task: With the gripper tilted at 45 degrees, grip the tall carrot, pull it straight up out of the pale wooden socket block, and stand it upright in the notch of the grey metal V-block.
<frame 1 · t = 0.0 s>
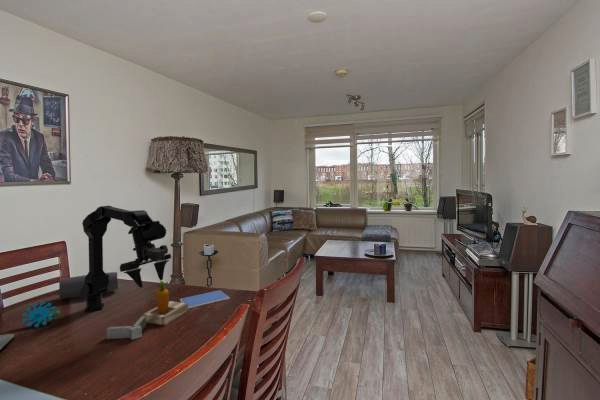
hand: (151, 283, 121), 15 cm above the table, tool pointing down, fingers open, 9 cm apart
tablet computer: (204, 301, 146), on the table
gear: (42, 324, 123), on the table
v-block: (127, 331, 116), on the table
bluetooth speaker: (90, 295, 152), on the table
socket block: (163, 317, 127), on the table
carrot: (163, 318, 127), resting in socket block
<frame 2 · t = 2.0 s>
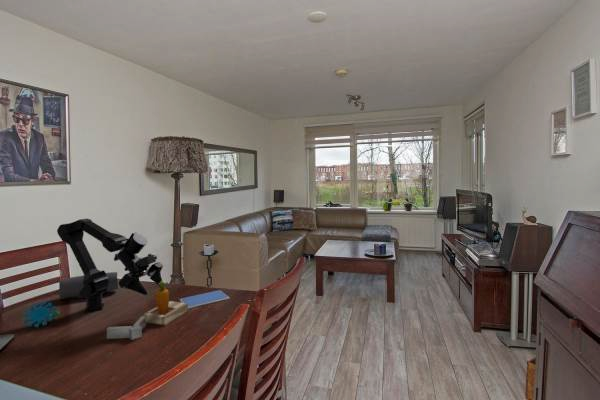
hand: (155, 290, 127), 11 cm above the table, tool tilted 45°, fingers open, 9 cm apart
nothing on the table moved.
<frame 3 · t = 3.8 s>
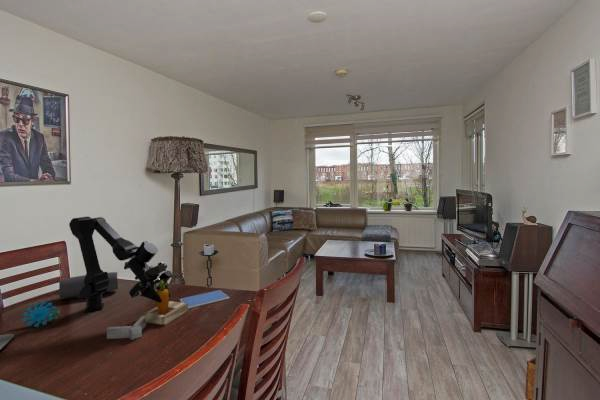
hand: (165, 299, 126), 8 cm above the table, tool tilted 45°, fingers closed on carrot, 5 cm apart
carrot: (163, 318, 127), resting in socket block, touching gripper
everything else where it was.
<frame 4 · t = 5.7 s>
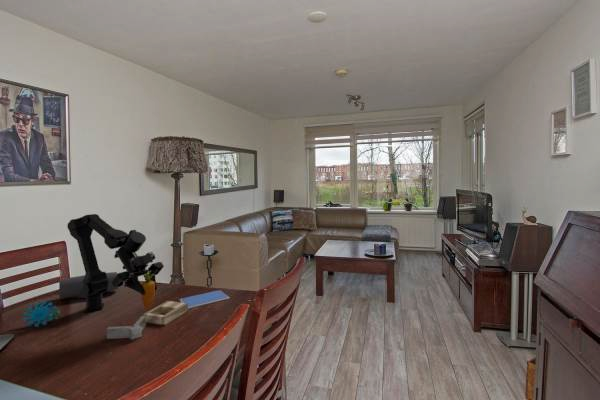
hand: (150, 292, 120), 13 cm above the table, tool tilted 45°, fingers closed on carrot, 5 cm apart
carrot: (148, 311, 121), point 5 cm above the table, touching gripper
everything else where it was.
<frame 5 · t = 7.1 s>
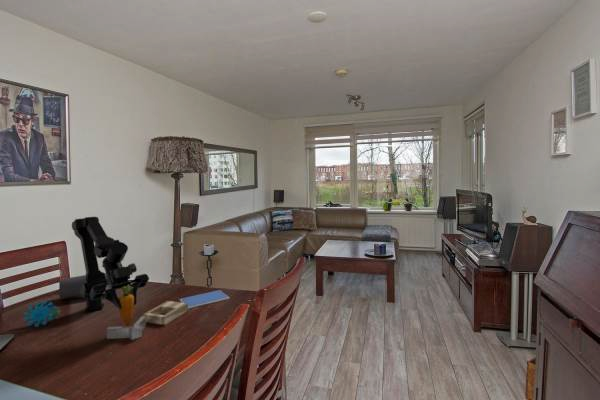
hand: (128, 306, 114), 10 cm above the table, tool tilted 45°, fingers closed on carrot, 5 cm apart
carrot: (127, 326, 116), point 2 cm above the table, touching gripper
everything else where it was.
when the fingers open (9 cm above the table, at t = 7.7 s): carrot drops 1 cm, resting in v-block.
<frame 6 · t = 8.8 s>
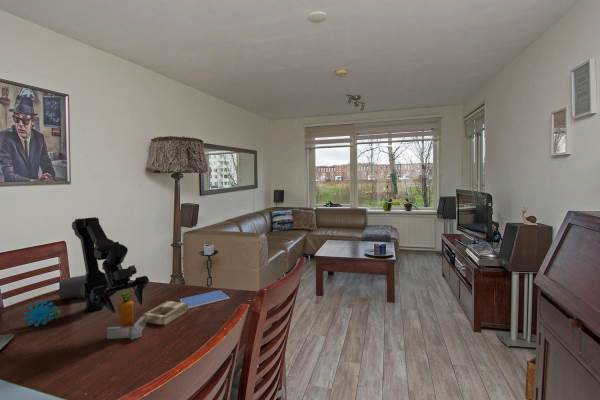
hand: (128, 308, 114), 9 cm above the table, tool tilted 45°, fingers open, 9 cm apart
carrot: (127, 332, 116), resting in v-block
everything else where it was.
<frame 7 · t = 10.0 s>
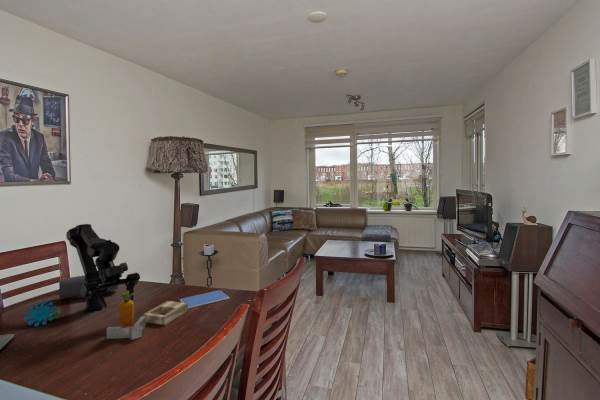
hand: (119, 303, 119), 9 cm above the table, tool tilted 45°, fingers open, 9 cm apart
nothing on the table moved.
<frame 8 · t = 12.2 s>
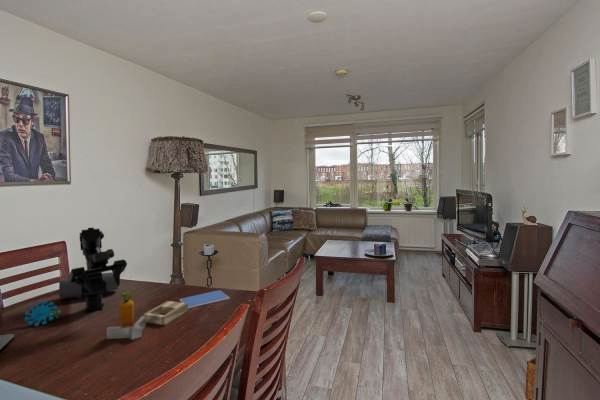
hand: (105, 288, 121), 14 cm above the table, tool tilted 45°, fingers open, 9 cm apart
at the end: carrot 0.0 cm off-centre on the v-block, point 0.0 cm above the v-block's base; carrot tilted 1°; the gripper is holding nothing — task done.
